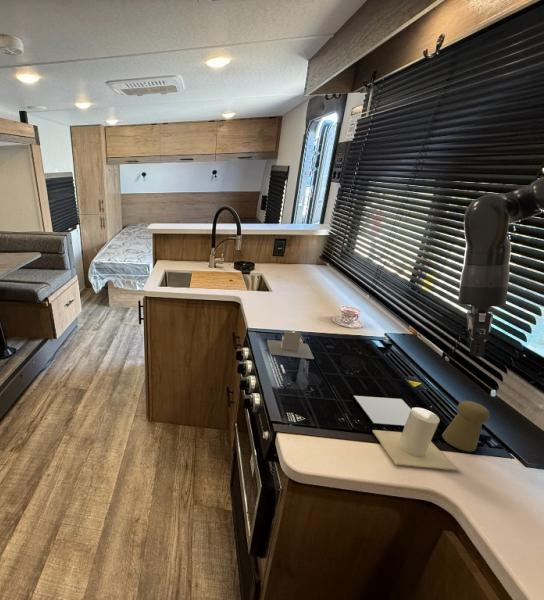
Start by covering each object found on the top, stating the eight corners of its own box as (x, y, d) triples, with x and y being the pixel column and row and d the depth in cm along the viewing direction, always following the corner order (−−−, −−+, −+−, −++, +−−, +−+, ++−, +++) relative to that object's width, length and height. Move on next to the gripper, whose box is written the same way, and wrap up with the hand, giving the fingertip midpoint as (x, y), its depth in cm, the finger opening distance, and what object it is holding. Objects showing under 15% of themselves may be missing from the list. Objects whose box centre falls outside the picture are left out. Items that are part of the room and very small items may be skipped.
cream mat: (424, 435, 77) (424, 434, 77) (455, 470, 68) (456, 469, 68) (372, 431, 79) (372, 429, 78) (396, 464, 69) (396, 463, 69)
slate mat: (401, 400, 89) (401, 398, 89) (428, 428, 79) (428, 427, 79) (352, 396, 91) (353, 395, 91) (373, 424, 81) (373, 423, 81)
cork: (453, 450, 73) (471, 413, 69) (436, 430, 78) (451, 396, 74) (483, 453, 72) (502, 416, 68) (463, 433, 77) (480, 398, 73)
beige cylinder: (416, 440, 75) (429, 408, 71) (430, 457, 70) (445, 424, 67) (393, 438, 76) (405, 406, 72) (406, 455, 71) (420, 422, 67)
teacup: (326, 317, 141) (328, 305, 139) (350, 315, 142) (353, 303, 140) (344, 329, 130) (348, 316, 128) (370, 327, 131) (374, 314, 129)
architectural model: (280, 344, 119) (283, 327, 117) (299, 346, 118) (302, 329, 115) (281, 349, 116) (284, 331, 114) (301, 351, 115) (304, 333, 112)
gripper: (513, 287, 63) (503, 363, 66) (503, 282, 73) (495, 347, 76) (461, 286, 69) (453, 356, 71) (459, 281, 79) (452, 342, 81)
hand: (475, 351), depth 73 cm, fingers open, 8 cm apart
